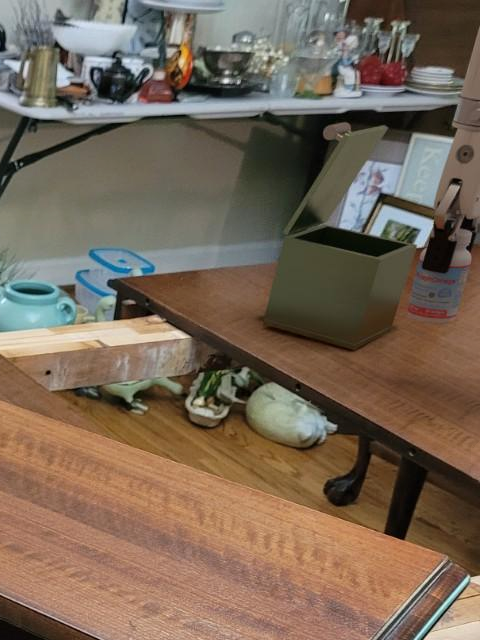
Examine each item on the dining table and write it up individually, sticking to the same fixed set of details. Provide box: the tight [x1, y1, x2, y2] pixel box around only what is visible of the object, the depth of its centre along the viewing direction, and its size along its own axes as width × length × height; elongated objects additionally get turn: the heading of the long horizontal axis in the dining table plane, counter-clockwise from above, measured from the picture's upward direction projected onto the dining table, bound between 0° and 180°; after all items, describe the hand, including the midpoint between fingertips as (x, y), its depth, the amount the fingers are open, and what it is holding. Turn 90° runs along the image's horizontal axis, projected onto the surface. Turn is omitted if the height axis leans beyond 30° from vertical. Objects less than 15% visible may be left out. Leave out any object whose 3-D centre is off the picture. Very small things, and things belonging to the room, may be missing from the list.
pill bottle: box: [406, 228, 473, 325], centre depth 142 cm, size 6×6×11 cm
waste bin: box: [262, 223, 418, 351], centre depth 168 cm, size 15×14×13 cm
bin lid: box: [282, 121, 389, 236], centre depth 164 cm, size 16×14×5 cm
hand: (444, 265), depth 142 cm, fingers closed on pill bottle, 6 cm apart
